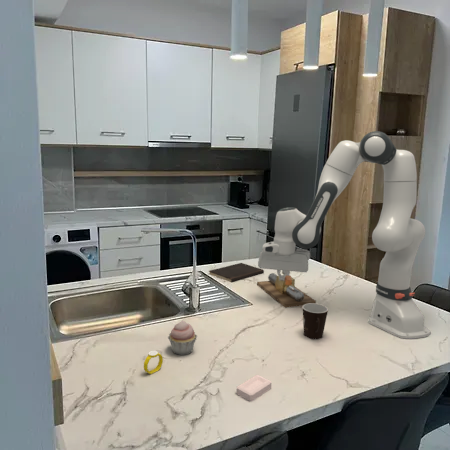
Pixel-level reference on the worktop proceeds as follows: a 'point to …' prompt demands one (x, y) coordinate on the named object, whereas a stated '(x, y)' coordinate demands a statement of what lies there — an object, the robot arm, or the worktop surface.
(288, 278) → the valve lever
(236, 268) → the hardcover book
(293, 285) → the valve body
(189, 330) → the cupcake
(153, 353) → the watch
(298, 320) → the worktop surface
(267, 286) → the mount board
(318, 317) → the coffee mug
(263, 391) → the soap bar
